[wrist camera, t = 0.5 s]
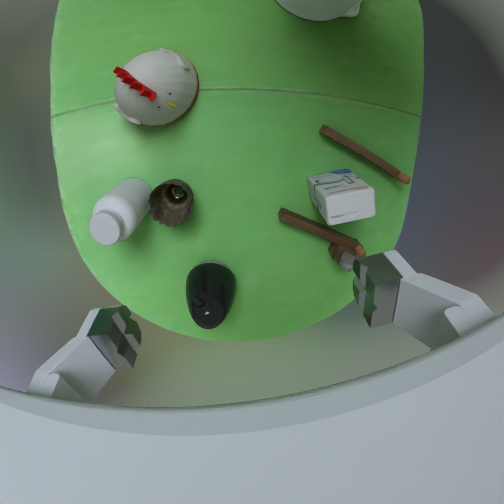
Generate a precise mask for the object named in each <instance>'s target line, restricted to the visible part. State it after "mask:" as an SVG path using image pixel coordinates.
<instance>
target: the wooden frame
mask: <svg viewBox="0 0 504 504" xmlns="http://www.w3.org/2000/svg"><path fill="white" fill-rule="evenodd" d="M320 133H322V134H324V135H326V136H328V137H329V138H331V139H333V140H335V141H337V142H338V143H340V144H342V145H344V146H345V147H347V148H349V149H351V150H352V151H354V152H356V153H357V154H359V155H361V156H362V157H364V158H366V159H367V160H369V161H370V162H372V163H373V164H375V165H377V166H378V167H380V168H381V169H383V170H384V171H386V172H387V173H389V174H390V175H391V176H392V177H394V178H395V179H397V180H399V181H400V182H402V183H404V184H409V182H410V177H409V176H408V175H406V174H404V173H402V172H400V171H398V170H397V169H396V168H394V167H393V166H391V165H390V164H388V163H387V162H386V161H384V160H383V159H381V158H380V157H378V156H377V155H375V154H373V153H372V152H370V151H369V150H367V149H366V148H364V147H362V146H361V145H359V144H358V143H356V142H354V141H353V140H351V139H349V138H348V137H346V136H344V135H342V134H341V133H339V132H337V131H335V130H334V129H332V128H330V127H328V126H325V125H323V126H322V128H321V130H320ZM278 216H279V218H280V220H281V221H283V222H286V223H288V224H291V225H293V226H296V227H298V228H300V229H303V230H305V231H308V232H310V233H313V234H315V235H317V236H320V237H322V238H325V239H327V240H329V241H332V244H331V245H330V247H329V249H328V250H329V252H330V254H331V256H332V258H333V259H334V260H336V261H338V262H337V263H338V265H339V266H340V267H341V268H342V269H344V270H346V271H349V272H350V271H351V269H352V268H353V262H354V259H358V258H357V257H356V256H355V255H356V254H357V255H358V257H359V258H362V257H365V255H366V252H365V250H364V249H363V247H362V245H361V244H360V243H359V241H357V240H356V239H353V238H351V237H349V236H346V235H344V234H342V233H340V232H338V231H335V230H333V229H331V228H329V227H326V226H324V225H322V224H320V223H317V222H315V221H313V220H310V219H308V218H306V217H303V216H301V215H299V214H296V213H294V212H292V211H289V210H287V209H284V208H282V207H281V209H280V211H279V213H278ZM355 252H356V253H355Z"/></svg>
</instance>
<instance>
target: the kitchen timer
mask: <svg viewBox="0 0 504 504" xmlns="http://www.w3.org/2000/svg"><path fill="white" fill-rule="evenodd" d="M113 72H114V73H116V74H117V80H116V84H115V97H116V101H117V103H116V104H114V107H115V108H116V110H117V111H118V112H119V113H121V114H122V115H123V116H124V117H125V118H126V119H127V120H128V121H130V122H132V123H135V124H138V125H141V124H145V125H149V126H154V125H163V124H166V123H169V122H172V121H175V120H176V119H178V118H179V117H181V116H182V115H184V114H185V113H186V112H187V111H188V110H189V108H190V107H191V106H192V105H193V103H194V101H195V99H196V97H197V93H198V88H199V81H198V74H197V72H196V70H195V68H194V65H193V64H192V63H191V62H190V61H189V60H188V59H187V58H186V57H185V56H183V55H181V54H179V53H177V52H174V51H171V50H167V49H163V48H160V49H159V50H154V51H149V52H146V53H143V54H141V55H138V56H136V57H135V58H133V59H132V60H131V61H129V62H128V63H127V64H126V65H125V66H124V67H123V69H122V68H120V67H116V68H115V70H114V71H113Z"/></svg>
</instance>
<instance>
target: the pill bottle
mask: <svg viewBox="0 0 504 504" xmlns="http://www.w3.org/2000/svg"><path fill="white" fill-rule="evenodd" d="M151 192H152V190H151V188H150V187H149V185H148V184H147V183H146V182H145V181H143V180H141V179H138V178H129V179H126V180H124V181H122V182H121V183H120V184H118V185H117V186H116V187H115V188H113V189H112V190H111V191H109V192H108V193H107V194H106V195H104V196H103V197H102V198H101V199H99V200H98V201H97V203H96V204H95V206H94V209H93V213H92V219H91V221H90V224H89V228H90V233H91V235H92V237H93V238H94V240H95V241H97V242H98V243H99V244H102V245H105V246H109V245H113V244H115V243H116V242H119V241H123V240H125V239H127V238H128V237H130V236H131V234H132V233H133V232H134V231H135V229H136V228H137V226H138V225H139V224H140V222H141V221H142V219H143V218H144V217H145V215H146V214H147V213H148V211H149V210H150V204H148V200H149V195H150V193H151Z"/></svg>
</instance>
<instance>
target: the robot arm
mask: <svg viewBox="0 0 504 504" xmlns="http://www.w3.org/2000/svg"><path fill="white" fill-rule="evenodd" d="M276 1H277V2H278V3H279V4H280V5H281V6H282V7H283V8H284V9H286V10H287V11H289V12H290V13H292V14H294V15H296V16H299V17H301V18H304V19H308V20H314V21H326V20H331V19H335V18H337V17H342V16H343V17H355V16H357V15H358V13H359V9H360V4H361V2H362V1H363V0H276ZM353 271H354V272H355V274H356V276H355V278H354V279H353V291H354V296H355V299H356V302H357V304H358V306H359V307H361V308H363V309H364V312H363V315H364V317H365V319H366V321H367V323H368V325H369V327H370V328H373V327H377V326H381V325H385V324H388V323H391V322H393V324H395V325H396V326H398V327H399V328H401V329H402V330H404V331H405V332H407V333H408V334H410V335H411V336H413V337H415V338H416V339H418V340H419V341H421V342H422V343H424V344H425V345H427V346H428V347H430V348H431V350H430V352H427V353H425V354H422V355H420V356H417V357H415V358H412V359H410V360H408V361H405V362H402V363H400V364H397V365H394V366H392V367H389V368H386V369H383V370H380V371H377V372H374V373H371V374H368V375H365V376H361V377H358V378H355V379H351V380H348V381H345V382H341V383H337V384H333V385H330V386H325V387H321V388H317V389H313V390H309V391H304V392H299V393H295V394H290V395H284V396H279V397H273V398H267V399H261V400H254V401H247V402H238V403H230V404H220V405H207V406H191V407H125V406H109V405H98V404H90V403H91V401H92V400H93V399H94V398H95V396H96V395H97V394H98V392H99V391H100V390H101V388H102V387H103V386H104V384H105V383H106V382H107V381H108V379H109V378H110V377H111V376H112V374H113V373H114V372H115V369H131V368H133V367H134V364H135V360H136V357H137V353H136V351H135V350H136V349H137V348H138V347H139V346H140V343H141V331H140V328H139V325H138V324H137V322H136V321H134V320H133V319H131V318H130V316H131V312H130V311H129V309H128V308H127V306H125V305H118V306H110V307H103V308H96V309H92V310H91V311H90V312H89V314H88V316H87V318H86V320H85V321H84V323H83V325H82V327H81V329H80V331H79V333H78V335H77V337H76V338H72V339H71V340H70V341H69V342H68V343H67V344H66V345H64V346H63V347H62V348H61V349H60V350H59V351H58V352H56V353H55V354H54V355H53V356H52V357H51V358H50V359H49V360H48V361H46V362H45V363H44V364H43V365H42V366H41V367H40V368H39V369H38V370H37V371H36V373H35V375H34V377H33V379H32V381H31V384H30V386H29V388H28V390H27V392H26V393H25V392H21V391H17V390H13V389H9V388H6V387H2V386H0V504H504V313H502V314H501V315H499V316H497V317H496V316H495V315H494V314H493V313H492V312H491V310H490V309H489V308H488V307H487V306H486V305H485V303H484V302H483V301H482V300H481V299H480V298H479V296H478V295H476V294H474V293H471V292H469V291H466V290H464V289H461V288H459V287H456V286H454V285H451V284H449V283H446V282H443V281H441V280H438V279H436V278H433V277H430V276H428V275H425V274H422V273H419V274H417V273H416V272H415V271H414V270H413V269H412V267H411V266H410V265H409V264H408V263H407V262H406V261H405V260H404V259H403V257H402V256H401V255H400V254H399V253H398V252H397V251H396V250H394V249H391V250H387V251H384V252H380V253H378V254H374V255H370V256H366V257H362V258H358V259H354V262H353Z"/></svg>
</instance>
